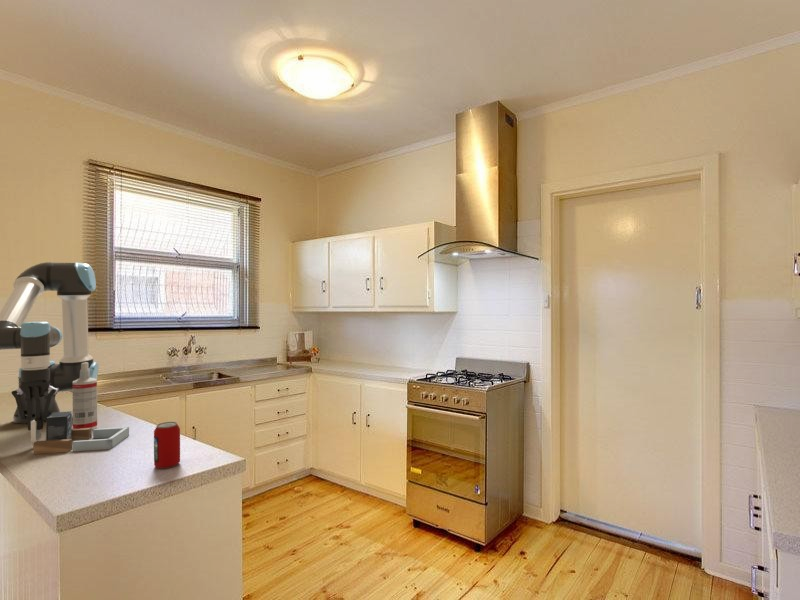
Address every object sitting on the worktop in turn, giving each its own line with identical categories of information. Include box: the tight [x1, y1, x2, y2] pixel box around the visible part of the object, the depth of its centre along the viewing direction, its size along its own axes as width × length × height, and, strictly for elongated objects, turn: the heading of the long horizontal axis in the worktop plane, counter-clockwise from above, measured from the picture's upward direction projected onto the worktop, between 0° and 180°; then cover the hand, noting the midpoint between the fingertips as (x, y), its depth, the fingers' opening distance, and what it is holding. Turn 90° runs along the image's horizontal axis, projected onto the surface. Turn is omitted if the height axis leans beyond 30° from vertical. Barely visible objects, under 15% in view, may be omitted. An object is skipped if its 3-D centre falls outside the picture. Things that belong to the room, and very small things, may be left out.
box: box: [45, 410, 73, 440], centre depth 149 cm, size 8×6×11 cm
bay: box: [72, 426, 130, 452], centre depth 151 cm, size 15×11×3 cm
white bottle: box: [72, 362, 98, 431], centre depth 169 cm, size 8×8×25 cm
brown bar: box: [32, 428, 93, 455], centre depth 149 cm, size 15×10×4 cm, turn 11°
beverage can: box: [153, 421, 181, 470], centre depth 130 cm, size 7×7×12 cm
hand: (35, 439), depth 147 cm, fingers closed
